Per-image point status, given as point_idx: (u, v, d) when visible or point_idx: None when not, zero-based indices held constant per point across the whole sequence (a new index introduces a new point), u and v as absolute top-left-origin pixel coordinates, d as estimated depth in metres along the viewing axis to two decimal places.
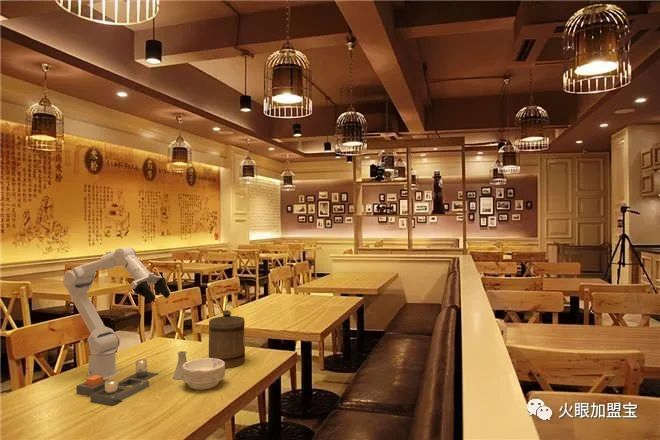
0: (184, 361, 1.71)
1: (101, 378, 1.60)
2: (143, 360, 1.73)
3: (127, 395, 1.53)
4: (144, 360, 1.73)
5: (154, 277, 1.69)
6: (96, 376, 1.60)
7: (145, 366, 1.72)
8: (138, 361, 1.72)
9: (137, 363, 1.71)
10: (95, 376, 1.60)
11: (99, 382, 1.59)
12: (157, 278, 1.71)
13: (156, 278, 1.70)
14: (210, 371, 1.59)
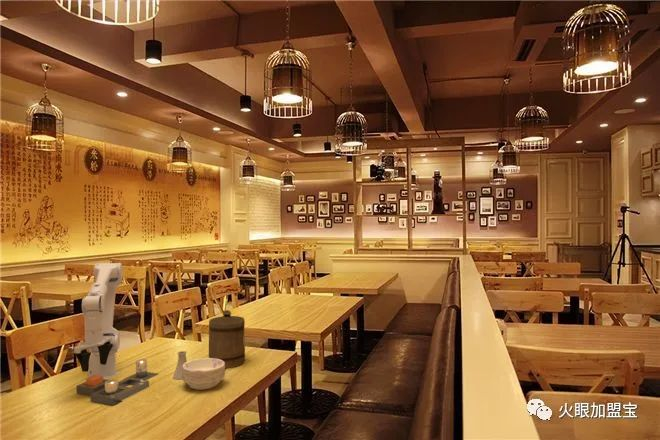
0: (184, 361, 1.71)
1: (101, 378, 1.60)
2: (143, 360, 1.73)
3: (127, 395, 1.53)
4: (144, 360, 1.73)
5: None
6: (96, 376, 1.60)
7: (145, 366, 1.72)
8: (138, 361, 1.72)
9: (137, 363, 1.71)
10: (95, 376, 1.60)
11: (99, 382, 1.59)
12: None
13: None
14: (210, 371, 1.59)
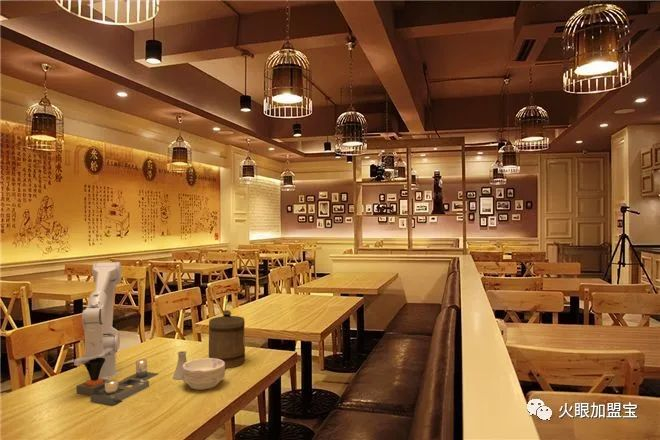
0: (184, 361, 1.71)
1: (101, 380, 1.60)
2: (143, 360, 1.73)
3: (127, 395, 1.53)
4: (144, 360, 1.73)
5: None
6: None
7: (145, 366, 1.72)
8: (138, 361, 1.72)
9: (137, 363, 1.71)
10: None
11: None
12: None
13: None
14: (210, 371, 1.59)
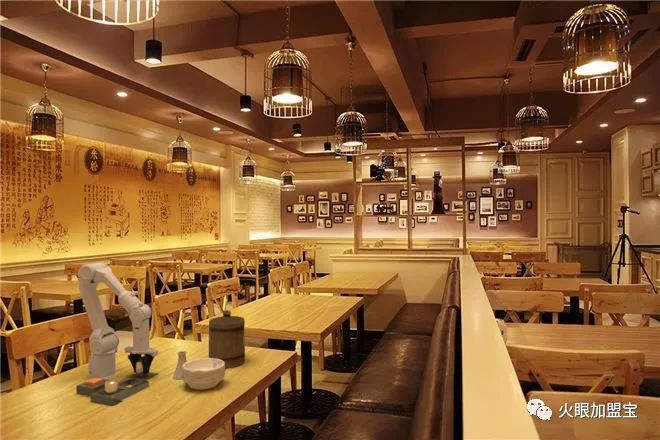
0: (184, 361, 1.71)
1: (101, 381, 1.60)
2: None
3: (127, 395, 1.53)
4: None
5: None
6: (96, 379, 1.61)
7: None
8: (138, 361, 1.72)
9: (137, 363, 1.71)
10: (95, 379, 1.61)
11: None
12: None
13: None
14: (210, 371, 1.59)
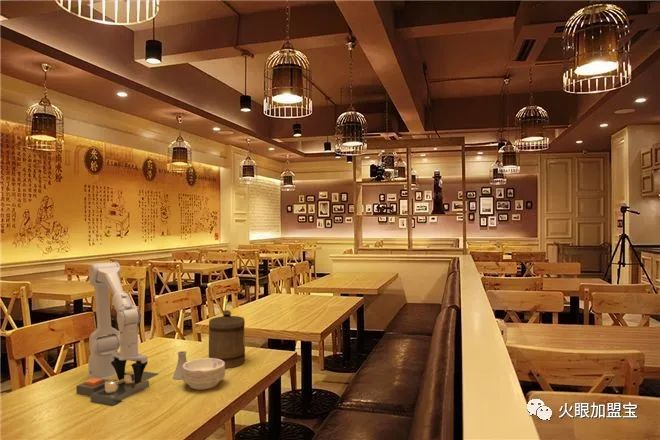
0: (184, 361, 1.71)
1: (101, 381, 1.60)
2: (132, 372, 1.61)
3: (127, 395, 1.53)
4: (133, 372, 1.61)
5: None
6: (96, 379, 1.61)
7: (134, 379, 1.60)
8: (127, 374, 1.60)
9: (126, 376, 1.59)
10: (95, 379, 1.61)
11: None
12: None
13: None
14: (210, 371, 1.59)
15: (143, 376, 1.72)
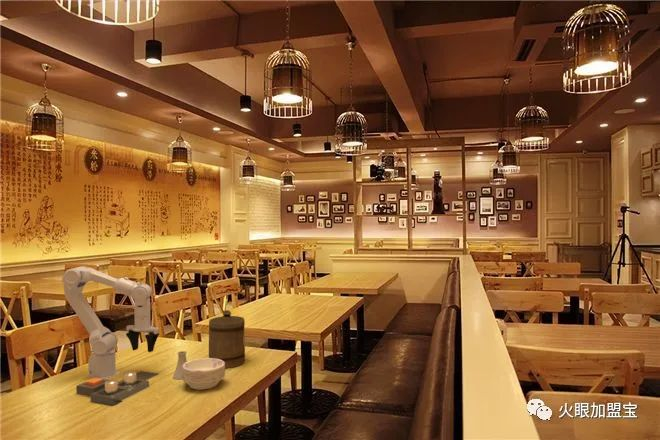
0: (184, 361, 1.71)
1: (101, 381, 1.60)
2: (132, 373, 1.61)
3: (127, 395, 1.53)
4: (133, 372, 1.61)
5: (143, 330, 1.73)
6: (96, 379, 1.61)
7: (134, 379, 1.60)
8: (126, 374, 1.60)
9: (125, 376, 1.59)
10: (95, 379, 1.61)
11: None
12: None
13: None
14: (210, 371, 1.59)
15: (143, 376, 1.72)
